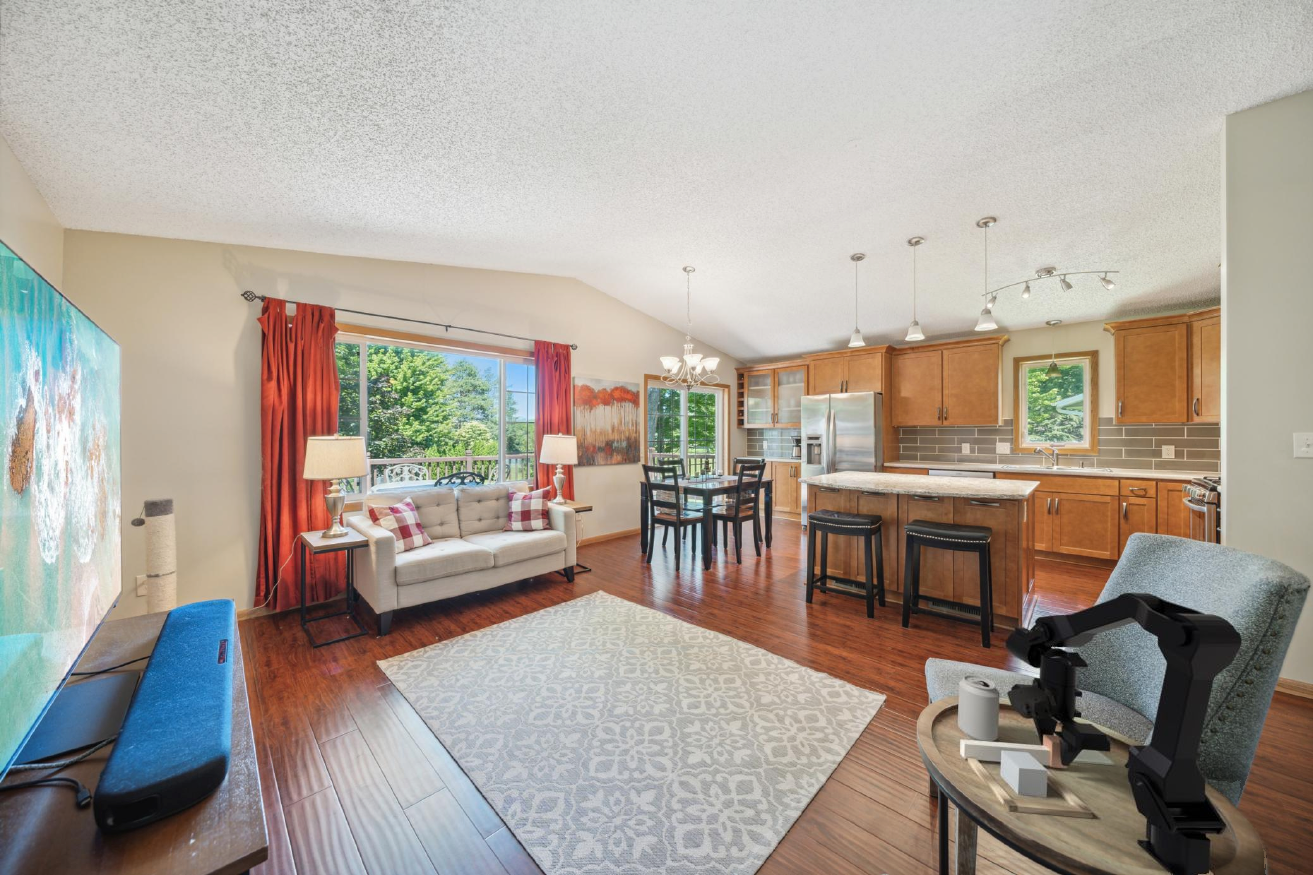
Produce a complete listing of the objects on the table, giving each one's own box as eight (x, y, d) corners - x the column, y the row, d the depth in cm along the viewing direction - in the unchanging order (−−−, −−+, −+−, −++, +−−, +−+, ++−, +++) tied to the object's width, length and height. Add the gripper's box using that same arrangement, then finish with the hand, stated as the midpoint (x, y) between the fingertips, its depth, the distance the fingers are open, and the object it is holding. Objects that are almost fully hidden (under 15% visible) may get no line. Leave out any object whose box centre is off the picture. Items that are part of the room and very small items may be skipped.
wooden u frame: (1093, 818, 83) (1093, 812, 83) (1008, 811, 84) (1009, 805, 84) (1040, 768, 95) (1040, 763, 95) (967, 762, 96) (967, 757, 96)
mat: (1114, 765, 97) (1114, 763, 97) (1067, 761, 98) (1067, 759, 98) (1078, 737, 106) (1078, 735, 106) (1036, 734, 107) (1036, 732, 107)
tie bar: (1067, 768, 95) (1068, 743, 95) (965, 760, 96) (966, 735, 96) (1057, 760, 97) (1058, 735, 97) (958, 752, 98) (959, 728, 98)
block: (1046, 797, 88) (1047, 770, 88) (1018, 794, 88) (1019, 768, 88) (1027, 778, 92) (1028, 752, 93) (1000, 775, 93) (1001, 750, 93)
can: (1004, 747, 102) (1006, 691, 102) (966, 741, 103) (968, 686, 103) (988, 726, 109) (989, 674, 109) (952, 721, 110) (953, 670, 111)
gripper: (987, 655, 106) (984, 725, 106) (1050, 702, 87) (1047, 786, 87) (1039, 659, 105) (1037, 729, 105) (1115, 706, 86) (1112, 792, 86)
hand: (1054, 756), depth 96 cm, fingers open, 5 cm apart
